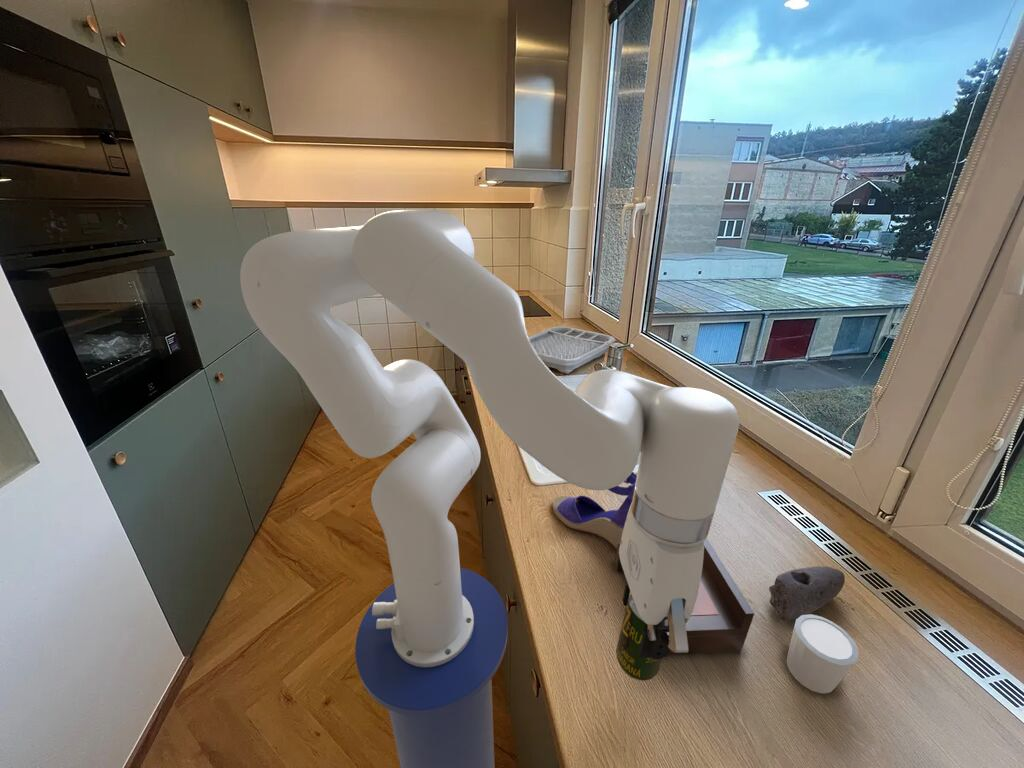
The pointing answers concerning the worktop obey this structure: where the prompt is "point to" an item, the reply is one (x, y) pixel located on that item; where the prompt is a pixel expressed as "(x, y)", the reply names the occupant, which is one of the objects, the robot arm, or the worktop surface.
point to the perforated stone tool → (804, 590)
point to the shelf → (715, 610)
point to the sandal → (596, 513)
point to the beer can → (635, 645)
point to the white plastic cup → (820, 653)
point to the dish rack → (569, 347)
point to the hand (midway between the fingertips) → (643, 627)
